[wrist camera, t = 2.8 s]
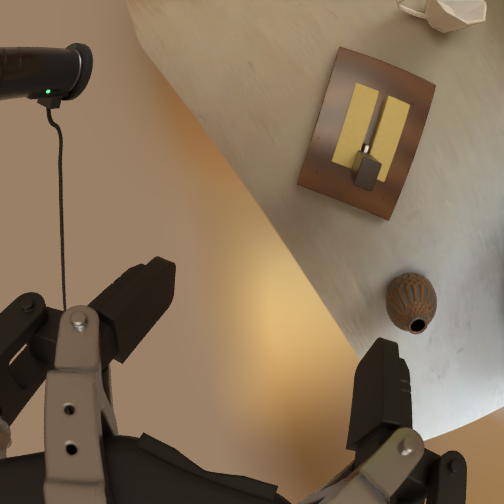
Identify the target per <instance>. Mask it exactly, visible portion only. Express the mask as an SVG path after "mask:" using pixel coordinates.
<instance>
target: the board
mask: <svg viewBox="0 0 504 504" xmlns="http://www.w3.org/2000/svg"><path fill="white" fill-rule="evenodd" d="M356 83H358V84H361V85H364V86H366V87H369V88H372V89H374V90H377V91H379V94H378V97H377V101H376V104H375V107H374V111H373V114H372V117H371V120H370V123H369V126H368V130H367V133H366V136H365V139H364V142H363V143H364V144H366V145H368V146H369V144H370V141H371V138H372V135H373V132H374V129H375V126H376V123H377V120H378V117H379V114H380V110H381V107H382V104H383V100H384V99H385V98H386V97H387V96H391V97H394V98H396V99H398V100H400V101H403V102H405V103H407V104H409V105H410V108H409V111H408V114H407V118H406V121H405V124H404V127H403V130H402V133H401V136H400V139H399V142H398V145H397V148H396V151H395V154H394V157H393V160H392V163H391V165H390V168H389V171H388V173H387V176H386V179H385V181H384V182H382V181H380V180H376V183H375V185H374V188H373V190H372V192H370V191H367V190H365V189H363V188H360V187H358V186H355V185H353V179H352V174H351V169H350V168H348V167H345V166H343V165H340V164H337V163H335V162H332V158H333V155H334V152H335V149H336V146H337V143H338V140H339V137H340V134H341V131H342V128H343V124H344V121H345V118H346V115H347V112H348V108H349V105H350V102H351V99H352V95H353V92H354V89H355V85H356ZM435 87H436V85H434V84H432V83H430V82H428V81H426V80H424V79H422V78H420V77H418V76H416V75H414V74H412V73H409V72H407V71H405V70H403V69H400V68H398V67H395V66H393V65H391V64H388V63H386V62H383V61H380V60H378V59H375V58H372V57H370V56H367V55H364V54H361V53H358V52H355V51H352V50H349V49H346V48H342V47H339V49H338V53H337V56H336V60H335V63H334V66H333V70H332V73H331V77H330V80H329V83H328V87H327V90H326V93H325V97H324V100H323V103H322V107H321V110H320V113H319V117H318V120H317V123H316V126H315V130H314V133H313V136H312V139H311V143H310V146H309V149H308V152H307V155H306V158H305V162H304V165H303V168H302V171H301V174H300V177H299V180H298V184H297V185H299V186H302V187H305V188H308V189H310V190H313V191H316V192H318V193H321V194H324V195H326V196H329V197H332V198H334V199H337V200H339V201H342V202H345V203H347V204H350V205H352V206H355V207H357V208H360V209H362V210H364V211H367V212H369V213H372V214H374V215H376V216H379V217H381V218H383V219H386V220H388V221H389V219H390V217H391V215H392V212H393V210H394V207H395V205H396V203H397V200H398V198H399V195H400V193H401V190H402V188H403V185H404V183H405V180H406V177H407V175H408V172H409V169H410V167H411V164H412V161H413V158H414V155H415V153H416V150H417V147H418V144H419V141H420V138H421V135H422V132H423V128H424V125H425V122H426V119H427V115H428V112H429V109H430V105H431V102H432V98H433V94H434V91H435ZM362 146H363V145H362ZM361 149H362V148H361Z"/></svg>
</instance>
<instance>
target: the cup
mask: <svg viewBox="0 0 504 504" xmlns="http://www.w3.org/2000/svg"><path fill="white" fill-rule="evenodd" d="M402 1H404V0H396V2H397V6H398V8H399V9H400V10H402V11H403V12H406V13H408V14H410V15H413V16H415V17H419V18H423V19H426V20H427V21H428V23H429V24H430V26H431V27H432V28H434V29H436V30H438V31H440V32H442V33H447V32H451V31H454V30H457V29H461V28H466V27H468V26H471V25H474V24H477V23H481V22H484V21H485V17H486V3H485V1H484V0H427V2H426V10H425V13H420V12H417V11H414V10H412V9H409V8H407V7H405V6H403V5H401V2H402Z"/></svg>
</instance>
